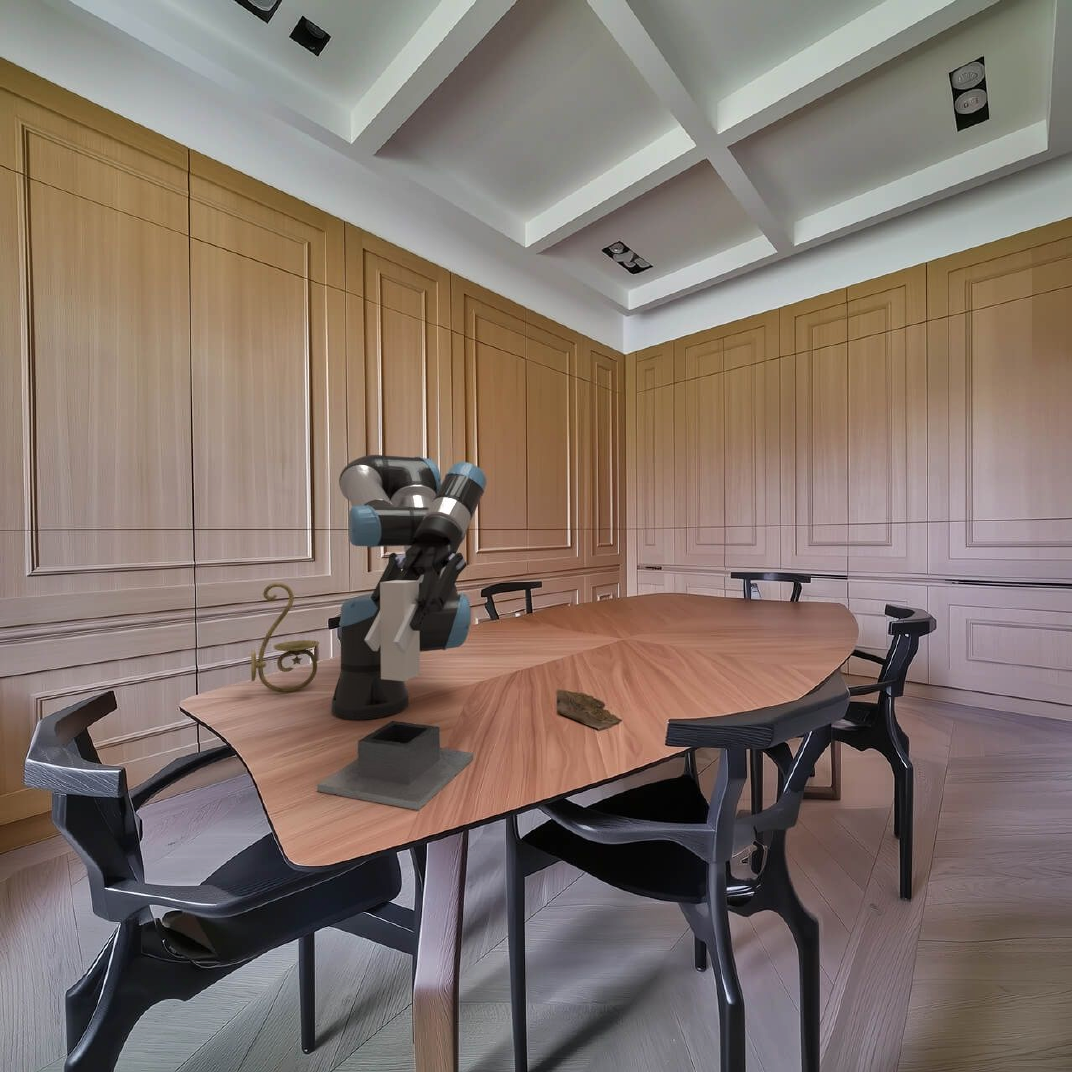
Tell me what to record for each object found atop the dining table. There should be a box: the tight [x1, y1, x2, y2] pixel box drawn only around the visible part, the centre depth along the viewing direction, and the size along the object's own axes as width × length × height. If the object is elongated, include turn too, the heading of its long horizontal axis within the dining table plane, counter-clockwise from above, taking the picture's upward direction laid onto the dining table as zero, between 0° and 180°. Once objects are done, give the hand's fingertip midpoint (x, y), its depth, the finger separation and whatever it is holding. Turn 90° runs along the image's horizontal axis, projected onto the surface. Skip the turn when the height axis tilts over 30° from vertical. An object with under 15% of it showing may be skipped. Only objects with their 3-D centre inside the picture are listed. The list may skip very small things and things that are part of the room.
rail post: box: [380, 580, 421, 682], centre depth 76 cm, size 4×4×14 cm
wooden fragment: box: [556, 689, 623, 732], centre depth 105 cm, size 26×11×1 cm, turn 12°
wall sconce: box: [250, 582, 320, 693], centre depth 117 cm, size 14×10×25 cm
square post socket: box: [316, 720, 474, 811], centre depth 76 cm, size 16×16×6 cm
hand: (385, 646), depth 73 cm, fingers closed on rail post, 4 cm apart
